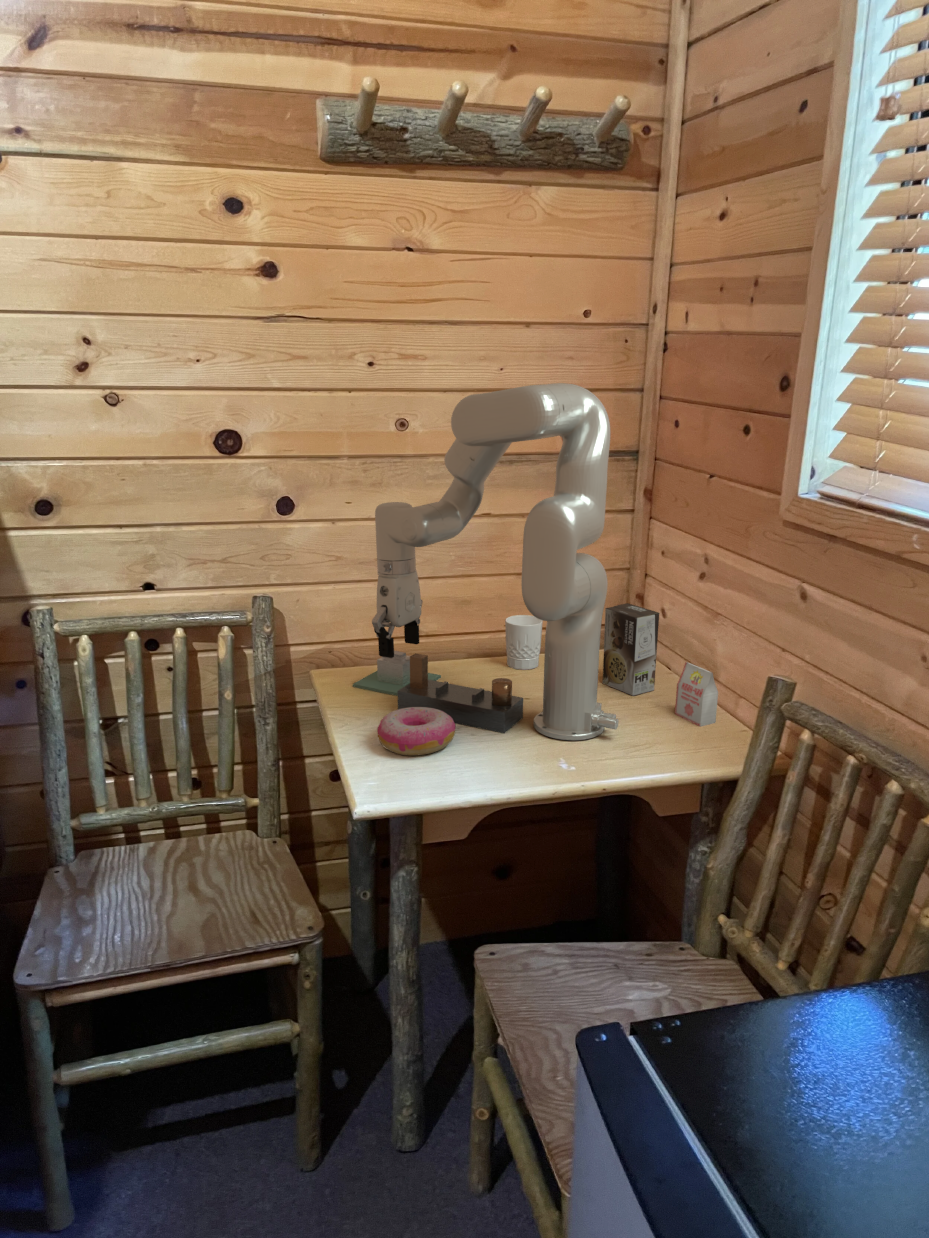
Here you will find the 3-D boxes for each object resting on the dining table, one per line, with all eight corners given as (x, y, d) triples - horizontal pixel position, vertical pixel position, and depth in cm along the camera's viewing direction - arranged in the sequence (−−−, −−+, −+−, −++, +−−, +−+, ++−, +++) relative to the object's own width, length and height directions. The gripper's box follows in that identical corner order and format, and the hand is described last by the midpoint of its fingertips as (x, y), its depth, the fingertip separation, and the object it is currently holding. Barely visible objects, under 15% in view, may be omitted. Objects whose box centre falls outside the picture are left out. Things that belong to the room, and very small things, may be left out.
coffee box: (655, 690, 184) (661, 612, 179) (632, 696, 180) (637, 617, 176) (623, 677, 191) (628, 602, 186) (600, 683, 188) (604, 606, 183)
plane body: (397, 710, 173) (397, 660, 170) (419, 697, 179) (418, 648, 177) (504, 733, 163) (505, 680, 160) (522, 717, 170) (524, 666, 167)
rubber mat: (441, 677, 190) (441, 675, 190) (408, 698, 179) (408, 695, 179) (387, 667, 196) (387, 664, 195) (352, 686, 184) (352, 684, 184)
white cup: (529, 673, 193) (531, 627, 190) (497, 666, 197) (498, 621, 194) (547, 663, 199) (549, 618, 196) (516, 656, 203) (517, 612, 200)
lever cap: (377, 680, 186) (377, 653, 185) (390, 673, 190) (390, 646, 189) (402, 685, 184) (402, 658, 182) (415, 678, 188) (415, 651, 186)
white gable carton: (689, 710, 174) (693, 660, 171) (715, 722, 168) (720, 671, 165) (674, 714, 172) (678, 663, 169) (700, 726, 166) (704, 674, 164)
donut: (445, 725, 167) (445, 699, 165) (464, 755, 154) (464, 728, 153) (371, 732, 164) (371, 706, 162) (384, 764, 151) (384, 736, 150)
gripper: (389, 577, 171) (392, 664, 176) (434, 559, 186) (437, 640, 190) (355, 573, 174) (359, 659, 179) (402, 556, 189) (405, 636, 194)
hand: (399, 649), depth 185 cm, fingers open, 9 cm apart
